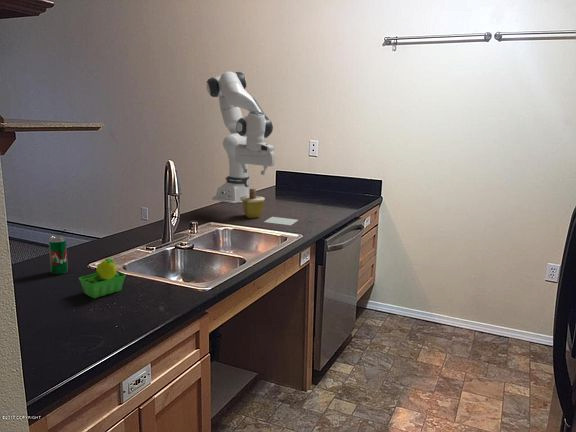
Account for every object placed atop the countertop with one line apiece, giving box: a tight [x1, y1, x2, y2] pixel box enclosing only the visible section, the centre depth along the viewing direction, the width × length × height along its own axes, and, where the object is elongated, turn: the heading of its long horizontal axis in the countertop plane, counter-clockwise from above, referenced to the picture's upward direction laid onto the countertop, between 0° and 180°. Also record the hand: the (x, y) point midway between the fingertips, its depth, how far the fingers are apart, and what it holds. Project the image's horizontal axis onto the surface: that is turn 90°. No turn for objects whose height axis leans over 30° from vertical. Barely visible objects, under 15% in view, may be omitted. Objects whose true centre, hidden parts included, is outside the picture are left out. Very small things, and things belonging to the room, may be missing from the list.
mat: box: [263, 216, 299, 226], centre depth 238 cm, size 14×12×1 cm
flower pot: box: [242, 201, 265, 219], centre depth 244 cm, size 9×9×9 cm
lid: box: [240, 188, 266, 203], centre depth 242 cm, size 12×12×6 cm
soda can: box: [48, 235, 69, 276], centre depth 158 cm, size 5×5×12 cm
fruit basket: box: [78, 257, 126, 299], centre depth 144 cm, size 11×9×11 cm
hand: (253, 173), depth 240 cm, fingers open, 8 cm apart
